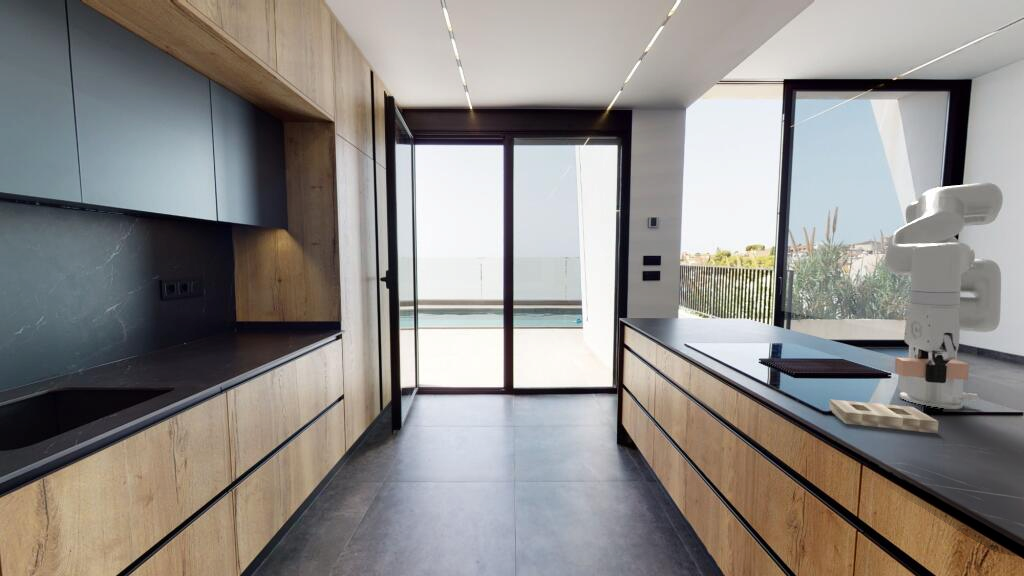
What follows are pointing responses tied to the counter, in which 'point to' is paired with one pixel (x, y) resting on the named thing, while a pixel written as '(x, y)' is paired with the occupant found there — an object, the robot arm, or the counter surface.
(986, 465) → the counter surface
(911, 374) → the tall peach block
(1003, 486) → the counter surface
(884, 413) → the beige flat slotted block
